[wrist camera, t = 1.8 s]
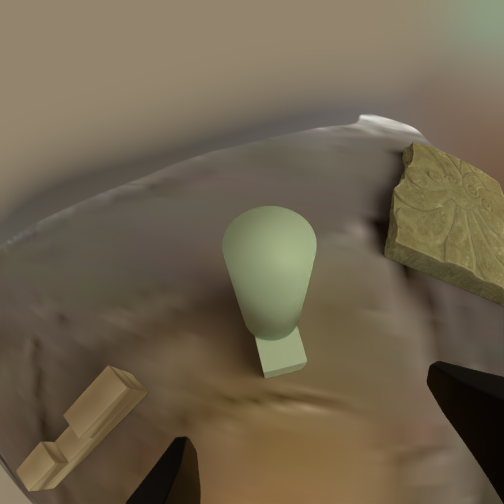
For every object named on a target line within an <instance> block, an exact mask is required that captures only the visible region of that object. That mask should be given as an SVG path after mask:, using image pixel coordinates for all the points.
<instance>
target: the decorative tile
mask: <svg viewBox="0 0 504 504" xmlns="http://www.w3.org/2000/svg"><path fill="white" fill-rule="evenodd" d="M402 161H403V164H404V167H405V169H404V170H405V171H404V173H403V174H402V176H401V179H400V181H399V185H398V186H397V187H395V189H394V191H393V195H392V201H391V209H390V223H389V229H388V237H387V240H386V242H385V243H386V245H385V248H384V256H385V257H386V258H388V259H391V260H393V261H396V262H398V263H401V264H403V265H406V266H408V267H411V268H413V269H415V270H418V271H420V272H423V273H425V274H428V275H430V276H433V277H435V278H437V279H440V280H442V281H445V282H447V283H450V284H452V285H455V286H457V287H460V288H462V289H464V290H467V291H469V292H472V293H474V294H476V295H478V296H481V297H483V298H486V299H488V300H491V301H493V302H495V303H498V304H500V305H502V306H504V196H503V193H502V190H501V188H500V184H499V183H498V182H497V181H495V180H494V179H493V178H491V177H489V176H488V175H486V174H485V173H484V172H482V171H481V170H480V169H478V168H475V167H473V166H471V165H470V164H468V163H466V162H464V161H461V160H459V159H458V158H456V157H454V156H451V155H449V154H445V153H444V152H442V151H440V150H438V149H436V148H433V147H431V146H428V145H422V144H419V143H416V142H413V143H412V144H411V145H410V147H405V148H404V150H403V156H402Z"/></svg>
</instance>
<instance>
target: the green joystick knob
mask: <svg viewBox="0 0 504 504" xmlns="http://www.w3.org/2000/svg"><path fill="white" fill-rule="evenodd" d="M222 251H223V256H224V259H225V262H226V266H227V269H228V272H229V275H230V279H231V282H232V285H233V288H234V291H235V294H236V298H237V301H238V304H239V307H240V310H241V313H242V316H243V319H244V323H245V325H246V327H247V329H248V330H249V331H250V332H251V333H252V334H253V335H254V336H255V339H256V343H257V347H258V352H259V356H260V360H261V364H262V368H263V372H264V376H265V379H266V378H270V377H275V376H279V375H283V374H287V373H291V372H294V371H298V370H302V368H303V367H304V366H305V364H306V363H307V359H306V355H305V352H304V348H303V345H302V341H301V338H300V334H299V331H298V327H297V324H298V322H299V318H300V315H301V311H302V307H303V303H304V299H305V295H306V291H307V287H308V283H309V279H310V275H311V271H312V267H313V262H314V258H315V253H316V237H315V234H314V231H313V229H312V227H311V226H310V225H309V223H308V222H307V221H306V220H305V219H304V218H303V217H302V216H300V215H299V214H297V213H296V212H294V211H292V210H289V209H286V208H282V207H276V206H263V207H258V208H254V209H251V210H248V211H246V212H244V213H242V214H241V215H239V216H238V217H237V218H235V219H234V220H233V221H232V222H231V223H230V225H229V226H228V228H227V229H226V231H225V234H224V236H223V241H222Z"/></svg>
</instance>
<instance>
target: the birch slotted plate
mask: <svg viewBox="0 0 504 504" xmlns="http://www.w3.org/2000/svg"><path fill="white" fill-rule="evenodd" d="M147 394H148V391H147V390H146V389H145V388H144V387H143V386H142V385H141V384H140V383H139V382H138V380H137V379H136V378H135V377H134V376H133V375H132V374H131V373H129V372H126V371H123V370H120V369H117V368H115V367H112V366H109V365H108V366H107V367H106V368H105V369H104V370H103V371H102V373H101V374H100V375H99V376H98V377H97V378H96V379H95V380H94V381H93V382H92V384H91V385H90V386H89V387H88V388H87V389H86V390H85V391H84V392H83V394H82V395H81V396H80V397H79V398H78V399H77V400H76V401H75V403H74V404H73V405H72V406H71V407H70V408H69V409H68V410H67V412H66V413H65V414H64V415H63V416H64V417H65V419H66V420H67V422H68V423H69V427H68V428H67V429H66V430H65V431H64V432H63V433H62V434H61V435H60V437H59V438H58V439H57V440H56V441H55V442H42V441H41V442H40V443H39V444H38V445H37V446H36V448H35V449H34V450H33V451H32V452H31V454H30V455H29V456H28V457H27V458H26V460H25V461H24V462H23V463H22V464H21V466H20V467H19V468H18V469H17V471H16V472H17V474H18V475H19V477H20V478H21V480H22V482H23V483H24V485H25V486H26V488H27V489H28V491H37V490H45V489H53V488H55V487H56V486H57V485H58V484H59V483H60V482H61V481H62V480H63V479H64V478H65V477H66V476H67V475H68V474H69V473H70V472H71V471H72V470H73V469H74V468H75V467H76V466H77V465H78V464H79V463H80V462H81V461H82V460H83V459H84V458H85V457H86V456H87V455H88V454H89V453H90V452H91V451H92V450H93V449H94V448H95V447H96V446H97V445H98V444H99V443H100V442H101V441H102V440H103V439H104V438H105V437H106V436H107V435H108V434H109V433H110V432H111V431H112V430H113V429H114V428H115V427H116V426H117V425H118V424H119V423H120V422H121V421H122V420H123V419H124V418H125V417H126V416H127V415H128V414H129V412H130V411H131V410H132V409H133V408H134V407H135V406H136V405H137V404H138V403H139V402H140V401H141V400H142V399H143V398H144V397H145V396H146V395H147Z"/></svg>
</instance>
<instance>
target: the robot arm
mask: <svg viewBox="0 0 504 504" xmlns="http://www.w3.org/2000/svg"><path fill="white" fill-rule="evenodd" d="M427 385H428V387H429V389H430V391H431V392H432V394H433V396H434V398H435V399H436V401H437V403H438V405H439V406H440V408H441V410H442V412H443V413H444V415H445V416H446V417H447V419H448V420H449V422H450V423H451V424H452V426H453V427H454V429H455V430H456V431H457V433H458V434H459V436H460V437H461V438H462V440H463V441H464V443H465V444H466V446H467V447H468V449H469V450H470V451H471V453H472V454H473V456H474V457H475V459H476V460H477V462H478V463H479V465H480V466H481V468H482V470H483V471H484V473H485V474H486V476H487V477H488V479H489V481H490V482H491V484H492V486H493V487H494V489H495V490H496V492H497V494H498V495H499V497H500V499H501V500H502V502H503V504H504V377H502V376H498V375H494V374H489V373H485V372H481V371H477V370H473V369H469V368H465V367H461V366H457V365H453V364H450V363H446V362H442V361H437V362H435V363H433V364H431V365H430V367H429V371H428V376H427ZM200 496H201V490H200V479H199V470H198V459H197V452H196V449H195V448H194V446H193V444H192V443H191V441H190V439H189V438H188V437H186V436H184V437H176V438H175V439H174V440H173V442H172V443H171V444H170V446H169V447H168V448H167V450H166V451H165V453H164V454H163V455H162V457H161V458H160V459H159V461H158V462H157V463H156V465H155V466H154V467H153V468H152V470H151V471H150V472H149V474H148V475H147V476H146V478H145V479H144V480H143V481H142V483H141V484H140V485H139V487H138V488H137V489H136V490H135V492H134V493H133V494H132V495H131V497H130V498H129V499H128V500H127V502H126V504H200Z"/></svg>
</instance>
